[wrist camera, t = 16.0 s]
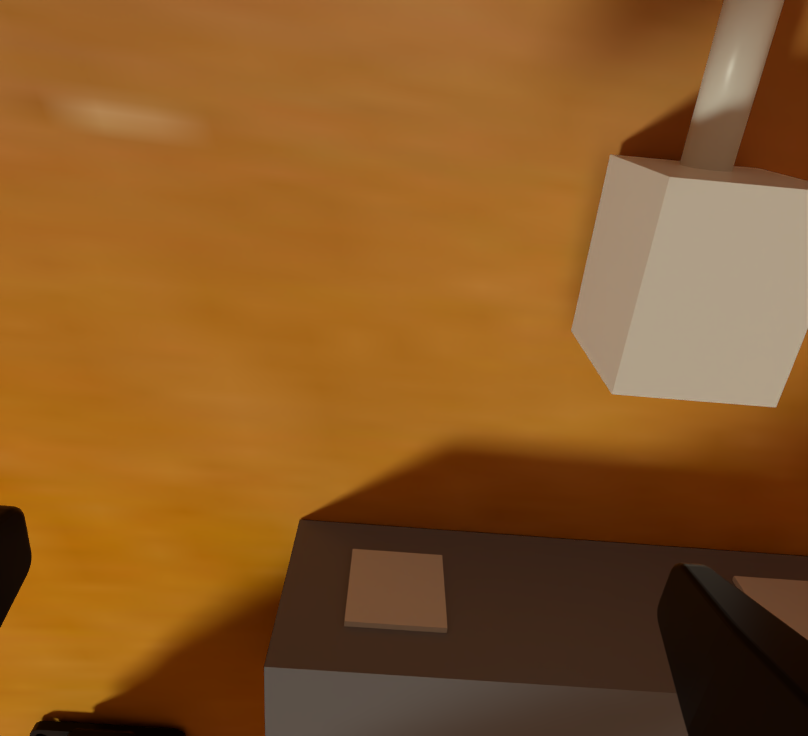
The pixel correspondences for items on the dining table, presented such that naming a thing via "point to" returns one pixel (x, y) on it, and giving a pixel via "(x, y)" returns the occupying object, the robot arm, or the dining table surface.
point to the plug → (701, 249)
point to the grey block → (487, 632)
